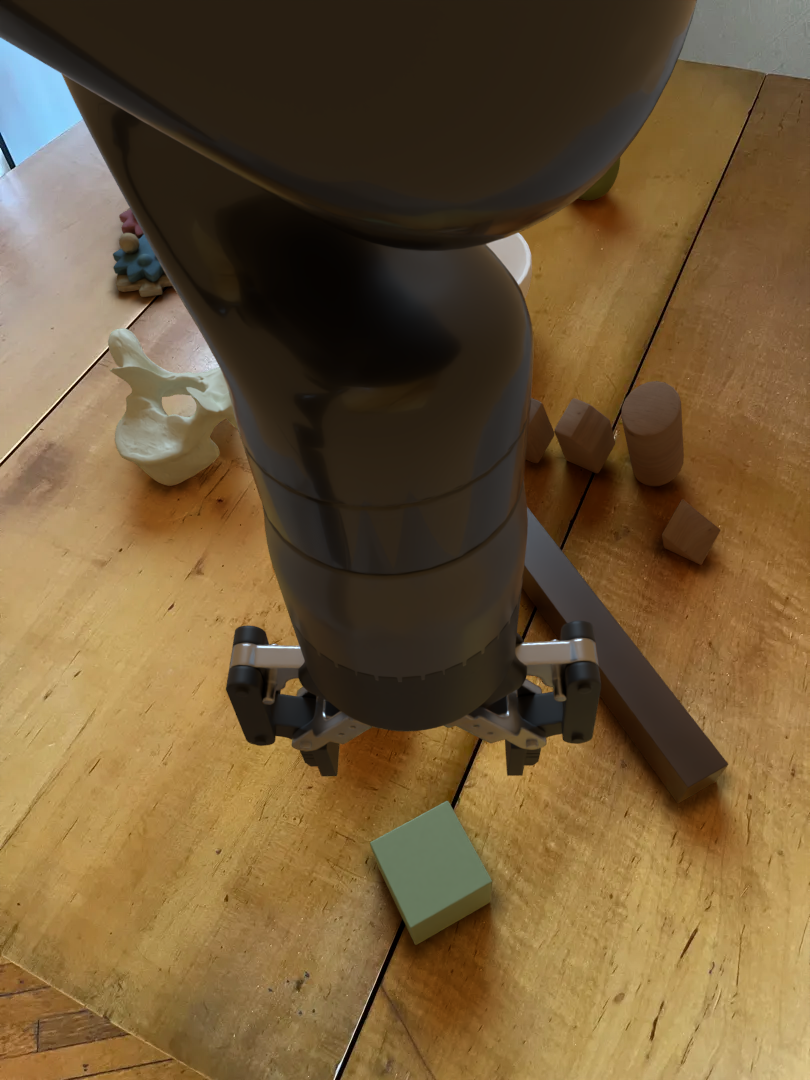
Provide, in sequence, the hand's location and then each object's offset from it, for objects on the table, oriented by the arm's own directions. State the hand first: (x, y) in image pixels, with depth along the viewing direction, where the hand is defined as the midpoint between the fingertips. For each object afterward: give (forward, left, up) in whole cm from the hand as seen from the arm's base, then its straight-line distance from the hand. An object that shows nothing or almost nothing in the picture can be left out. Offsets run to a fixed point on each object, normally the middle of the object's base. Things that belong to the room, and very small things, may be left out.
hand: (422, 756), depth 38 cm
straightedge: (+16, +14, -14) cm, 25 cm away
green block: (-1, -2, -14) cm, 15 cm away
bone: (0, +41, -15) cm, 43 cm away
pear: (+47, +52, -15) cm, 71 cm away
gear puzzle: (+14, +64, -15) cm, 67 cm away
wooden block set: (+26, +18, -15) cm, 35 cm away
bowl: (+24, +41, -15) cm, 49 cm away
